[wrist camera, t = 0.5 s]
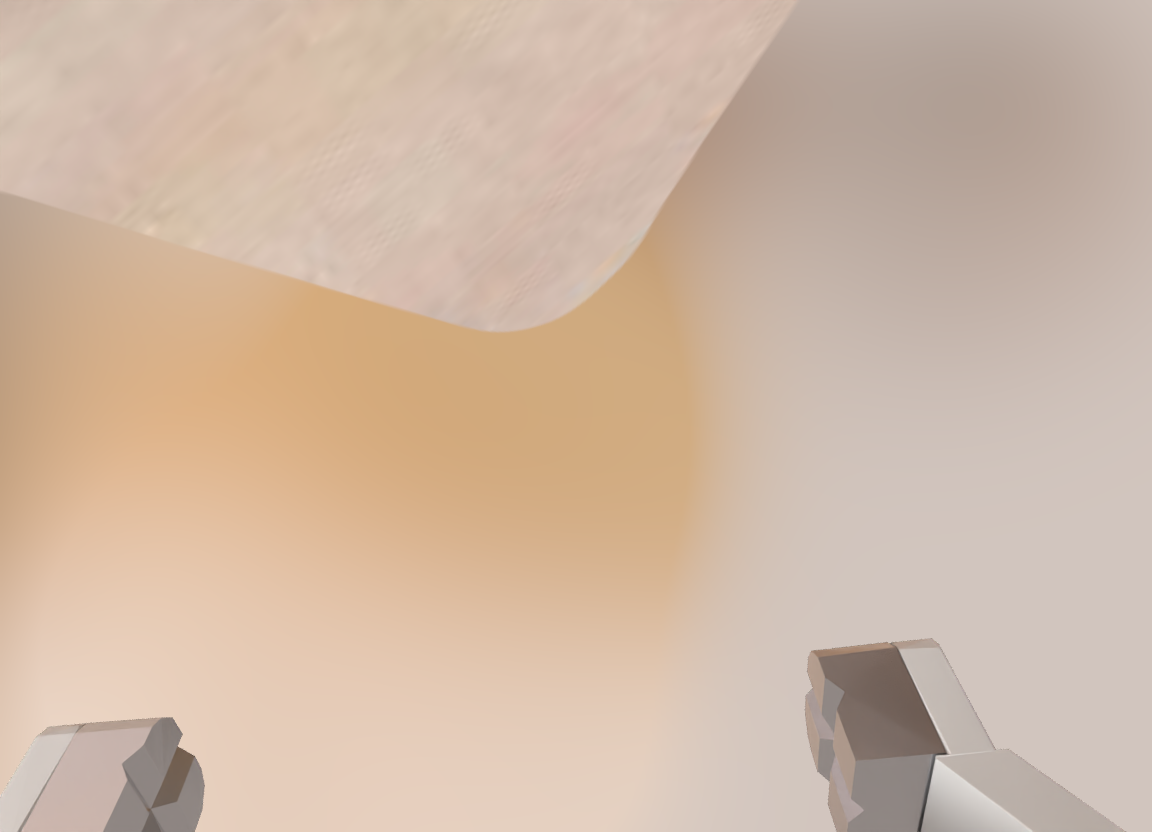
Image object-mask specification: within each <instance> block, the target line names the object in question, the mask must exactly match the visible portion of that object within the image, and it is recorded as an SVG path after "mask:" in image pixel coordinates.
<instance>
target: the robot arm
mask: <svg viewBox="0 0 1152 832" xmlns="http://www.w3.org/2000/svg"><path fill="white" fill-rule="evenodd" d="M807 672H808V675H809V678H810V681H811V684H812V687H813V688H812V689H811V690H810V691H809V692H808V694H807V695H806V704H805V716H806V725H807V734H808V739H809V743H810V747H811V751H812V755H813V758H814V762H815V765H816V768H817V771H818V772H819V773H820V774H821V775H823V776H824V777H825V778H826V779H827V780H829V781H830V785H829V796H828V797H829V798H828V806H829V809H830V812H831V815H832V818H833V822H834V825H835V828H836V830H837V832H1126V831H1124V830H1123V829H1121V828H1120V827H1118V826H1117V825H1115V824H1114V823H1113V822H1111V821H1110V820H1109V819H1107V818H1106V817H1104V816H1103V815H1101V814H1100V813H1099V812H1097V811H1096V810H1094V809H1093V808H1092V807H1090V806H1089V805H1087V804H1086V803H1084V802H1083V801H1082V800H1080V799H1079V798H1077V797H1076V796H1075V795H1073V794H1072V793H1070V792H1069V791H1068V790H1066V789H1065V788H1063V787H1062V786H1060V785H1059V784H1057V783H1056V782H1055V781H1053V780H1052V779H1051V778H1049V777H1048V776H1046V775H1045V774H1043V773H1042V772H1040V771H1039V770H1038V769H1036V768H1035V767H1034V766H1032V765H1031V764H1029V763H1028V762H1026V761H1025V760H1024V759H1022V758H1021V757H1019V756H1018V755H1017V754H1015V753H1014V752H1012V751H1011V750H1009V749H1000V750H996V749H995V747H994V745H993V743H992V741H991V740H990V738H989V736H988V734H987V732H986V730H985V729H984V727H983V725H982V723H981V721H980V719H979V717H978V716H977V714H976V712H975V710H974V708H973V706H972V705H971V703H970V701H969V699H968V697H967V695H966V693H965V692H964V690H963V688H962V686H961V684H960V682H959V680H958V679H957V677H956V675H955V673H954V671H953V669H952V667H951V666H950V664H949V662H948V660H947V658H946V656H945V655H944V653H943V651H942V649H941V647H940V646H939V644H938V643H937V642H936V641H934V640H933V639H932V638H930V639H920V640H910V641H901V642H892V643H888V642H885V643H876V644H867V645H858V646H850V647H841V648H832V649H823V650H814V651H811V653H810V655H809V657H808V668H807ZM181 737H182V732H181V731H180V729H179V727H178V726H177V724H176V723H175V721H174V719H173V718H150V719H136V720H123V721H109V722H96V723H87V724H75V725H62V726H51V727H48V728H47V729H45V730H44V731H43V732H42V733H40V734H39V735H38V736H37V737H36V738H35V739H34V741H33V743H32V744H31V746H30V748H29V749H28V751H27V753H26V754H25V756H24V758H23V759H22V761H21V763H20V764H19V766H18V768H17V769H16V771H15V773H14V774H13V776H12V778H11V779H10V781H9V783H8V784H7V786H6V788H5V789H4V791H3V792H2V794H1V796H0V832H195V829H196V826H197V824H198V821H199V818H200V815H201V812H202V807H203V795H204V786H205V785H204V780H203V775H202V770H201V767H200V765H199V763H198V761H197V759H196V758H195V756H193V755H192V754H190V753H188V752H186V751H185V750H183V749H181V748H179V747H178V744H179V741H180V739H181Z"/></svg>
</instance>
